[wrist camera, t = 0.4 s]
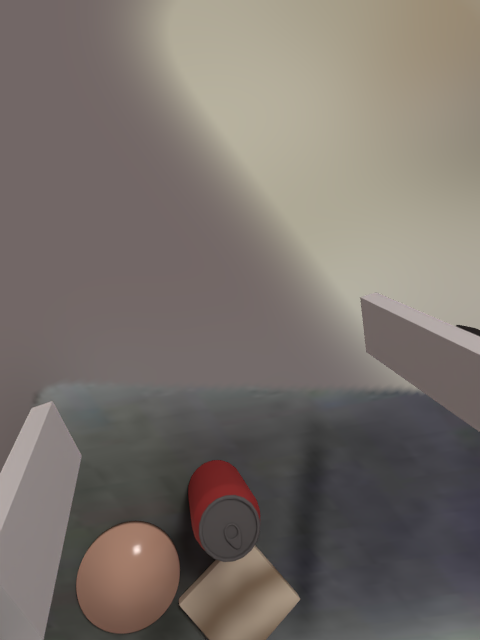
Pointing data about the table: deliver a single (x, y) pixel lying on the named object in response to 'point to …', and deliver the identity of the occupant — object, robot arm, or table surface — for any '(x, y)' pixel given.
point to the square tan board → (239, 599)
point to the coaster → (128, 577)
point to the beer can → (223, 511)
